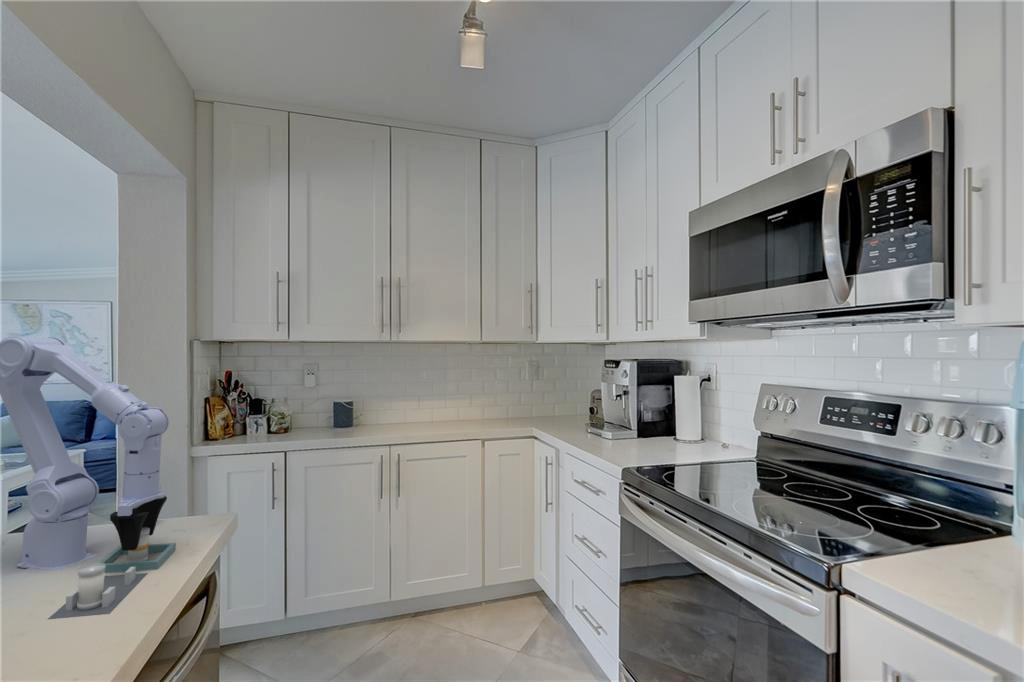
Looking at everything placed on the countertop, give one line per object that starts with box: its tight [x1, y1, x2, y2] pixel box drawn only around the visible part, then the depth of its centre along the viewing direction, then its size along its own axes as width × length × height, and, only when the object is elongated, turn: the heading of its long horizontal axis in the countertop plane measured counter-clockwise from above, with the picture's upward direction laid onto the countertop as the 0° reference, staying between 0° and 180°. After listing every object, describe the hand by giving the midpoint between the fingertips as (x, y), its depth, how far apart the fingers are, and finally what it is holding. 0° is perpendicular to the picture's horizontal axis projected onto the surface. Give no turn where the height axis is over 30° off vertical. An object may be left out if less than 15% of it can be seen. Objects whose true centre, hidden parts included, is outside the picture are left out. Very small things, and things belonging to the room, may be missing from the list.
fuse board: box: [47, 567, 149, 620], centre depth 86 cm, size 15×8×3 cm, turn 16°
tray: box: [98, 542, 177, 574], centre depth 100 cm, size 10×10×2 cm
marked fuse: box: [126, 527, 150, 562], centre depth 100 cm, size 3×3×6 cm
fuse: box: [77, 562, 106, 610], centre depth 83 cm, size 3×3×6 cm
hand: (138, 542), depth 100 cm, fingers open, 7 cm apart
